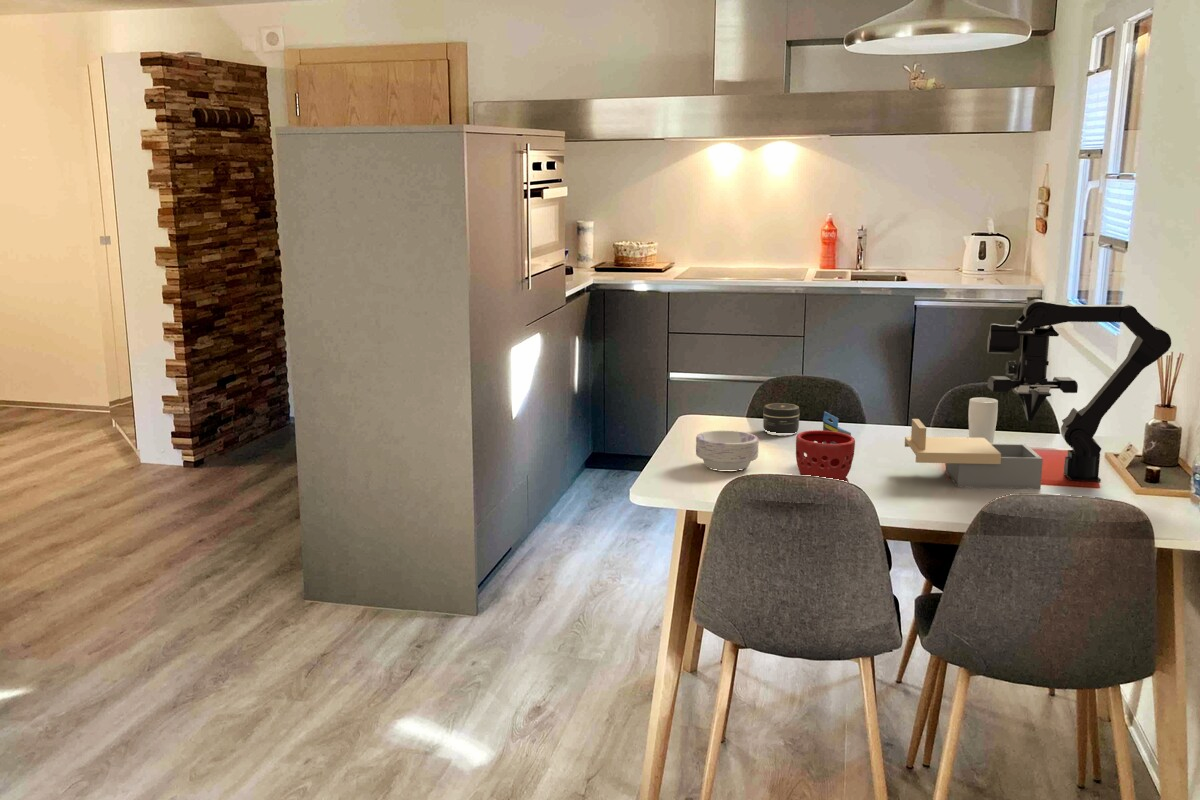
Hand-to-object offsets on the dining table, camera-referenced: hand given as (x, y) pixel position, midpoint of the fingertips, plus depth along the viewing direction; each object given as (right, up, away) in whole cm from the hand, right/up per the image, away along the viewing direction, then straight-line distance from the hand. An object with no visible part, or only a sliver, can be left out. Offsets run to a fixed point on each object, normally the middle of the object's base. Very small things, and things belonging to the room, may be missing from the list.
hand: (1029, 420), depth 246 cm
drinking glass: (-5, -10, +18) cm, 21 cm away
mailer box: (-9, -14, -1) cm, 17 cm away
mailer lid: (-19, -8, -1) cm, 20 cm away
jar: (-50, -5, +49) cm, 70 cm away
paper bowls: (-69, -12, +13) cm, 71 cm away
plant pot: (-49, -15, -5) cm, 52 cm away
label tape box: (-41, -11, +17) cm, 46 cm away
